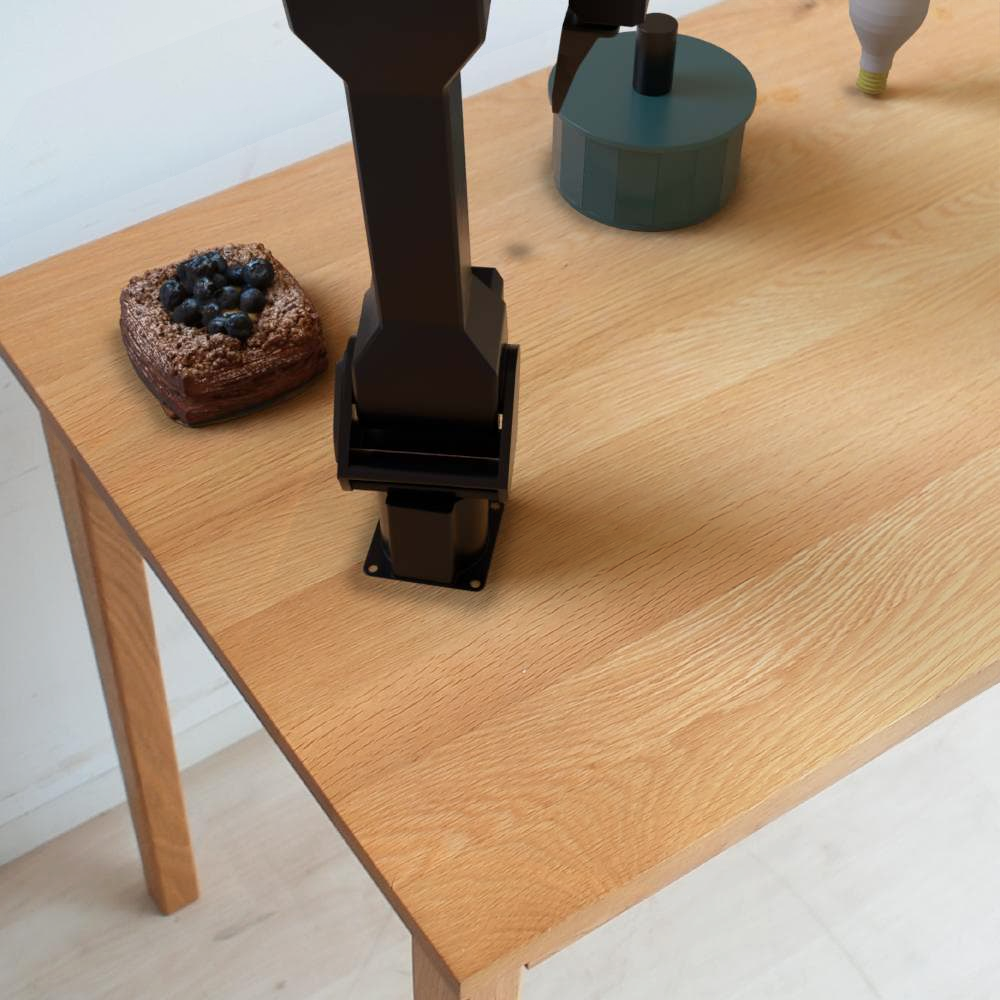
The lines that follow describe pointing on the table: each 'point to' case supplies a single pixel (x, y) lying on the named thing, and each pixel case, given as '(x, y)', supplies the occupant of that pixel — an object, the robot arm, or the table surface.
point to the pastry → (222, 334)
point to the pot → (644, 181)
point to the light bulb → (883, 35)
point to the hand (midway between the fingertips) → (477, 100)
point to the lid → (658, 91)
